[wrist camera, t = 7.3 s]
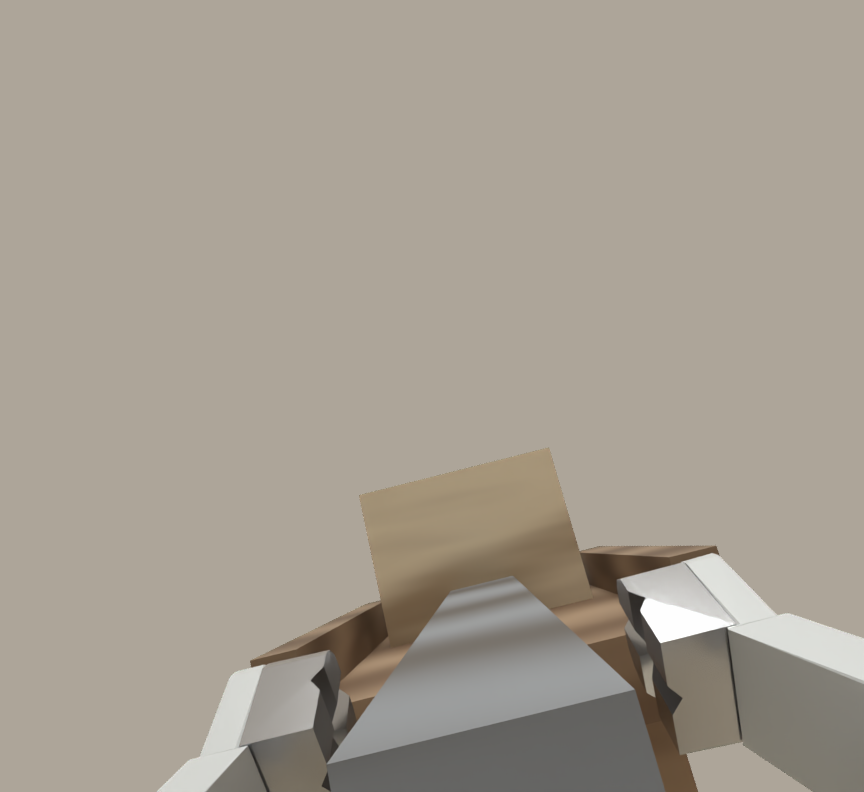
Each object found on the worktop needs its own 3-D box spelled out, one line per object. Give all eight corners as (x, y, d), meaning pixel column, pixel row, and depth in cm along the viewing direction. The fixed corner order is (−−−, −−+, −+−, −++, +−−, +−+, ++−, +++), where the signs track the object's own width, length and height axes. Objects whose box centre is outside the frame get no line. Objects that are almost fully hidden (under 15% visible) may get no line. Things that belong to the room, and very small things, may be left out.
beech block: (1076, 820, 4) (768, 121, 6) (5, 1073, 5) (-35, 330, 6) (571, 588, 30) (536, 465, 31) (408, 627, 30) (381, 504, 31)
